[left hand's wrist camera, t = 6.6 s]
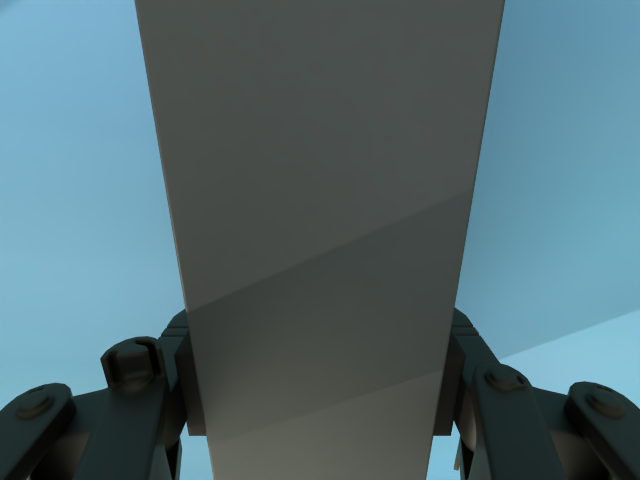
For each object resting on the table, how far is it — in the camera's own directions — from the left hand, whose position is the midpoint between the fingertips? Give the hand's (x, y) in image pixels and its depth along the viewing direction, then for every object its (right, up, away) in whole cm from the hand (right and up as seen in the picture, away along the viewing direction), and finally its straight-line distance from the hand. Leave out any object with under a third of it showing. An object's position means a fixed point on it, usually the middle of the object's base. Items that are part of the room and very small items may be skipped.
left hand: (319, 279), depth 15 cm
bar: (0, +31, -11) cm, 33 cm away
